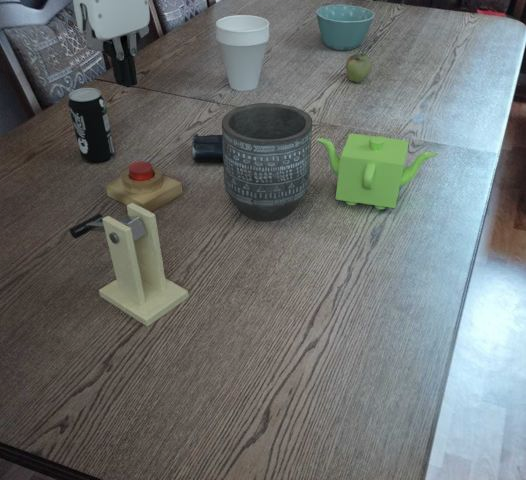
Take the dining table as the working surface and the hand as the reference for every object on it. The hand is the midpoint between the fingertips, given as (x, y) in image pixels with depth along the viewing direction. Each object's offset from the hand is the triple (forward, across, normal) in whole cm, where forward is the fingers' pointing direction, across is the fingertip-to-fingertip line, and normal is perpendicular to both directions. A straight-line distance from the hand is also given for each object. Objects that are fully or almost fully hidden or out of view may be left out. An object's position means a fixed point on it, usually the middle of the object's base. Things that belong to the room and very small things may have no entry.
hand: (126, 83), depth 85 cm
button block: (+19, 0, 0) cm, 19 cm away
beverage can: (+19, -4, -18) cm, 27 cm away
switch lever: (+11, +19, +17) cm, 27 cm away
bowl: (+19, -90, -18) cm, 94 cm away
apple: (+19, -71, -1) cm, 74 cm away
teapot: (+19, -25, +31) cm, 44 cm away
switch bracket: (+19, +19, +21) cm, 34 cm away
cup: (+19, -50, -20) cm, 57 cm away
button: (+15, 0, 0) cm, 15 cm away
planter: (+19, -11, +19) cm, 29 cm away
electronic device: (+19, -21, +2) cm, 29 cm away
